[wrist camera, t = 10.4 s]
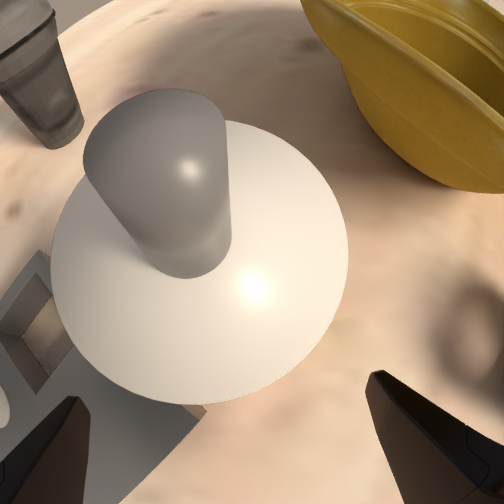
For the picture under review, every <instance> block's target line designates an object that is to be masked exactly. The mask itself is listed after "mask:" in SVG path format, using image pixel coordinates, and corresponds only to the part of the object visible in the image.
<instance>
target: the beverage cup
mask: <svg viewBox="0 0 504 504" xmlns="http://www.w3.org/2000/svg"><path fill="white" fill-rule="evenodd" d="M54 16H55V11H54V9H52V8H51V6H50V4H49V2H48V1H47V0H0V95H1V97H2V98H3V99H4V100H5V102H6V103H7V104H8V105H9V106H10V108H11V109H12V110H13V111H14V112H15V113H16V115H17V116H18V117H19V118H20V119H21V121H22V122H23V123H24V124H25V125H26V126H27V127H28V129H29V130H30V131H31V132H32V133H33V134H34V135H35V136H36V138H37V139H39V140H40V141H41V142H42V143H43V144H44V145H45V146H46V147H47V148H49V149H58V148H61V147H63V146H65V145H67V144H68V143H70V142H71V141H72V140H73V139H75V138H76V136H77V135H78V134H79V133H80V131H81V130H82V128H83V125H84V118H83V116H82V114H81V110H80V105H79V102H78V100H77V97H76V94H75V91H74V89H73V86H72V83H71V80H70V77H69V74H68V71H67V68H66V65H65V62H64V58H63V55H62V52H61V49H60V45H59V42H58V38H57V37H58V34H57V26H56V20H55V17H54Z"/></svg>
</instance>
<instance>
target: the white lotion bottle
mask: <svg viewBox="0 0 504 504" xmlns="http://www.w3.org/2000/svg"><path fill="white" fill-rule="evenodd" d="M83 165H84V170H85V173H86V174H85V175H84V177H83V178H82V179H81V180H80V182H79V183H78V184H77V186H76V187H75V189H74V190H73V192H72V194H71V195H70V197H69V199H68V200H67V202H66V204H65V207H64V209H63V211H62V213H61V215H60V218H59V221H58V224H57V227H56V231H55V234H54V239H53V245H52V250H51V266H50V271H51V284H52V291H53V295H54V300H55V305H56V308H57V310H58V313H59V316H60V319H61V321H62V324H63V326H64V327H65V329H66V331H67V333H68V335H69V337H70V339H71V340H72V342H73V343H74V344H75V346H76V347H77V349H78V350H79V351H80V353H81V354H82V355H83V356H84V357H85V358H86V359H87V360H88V361H89V362H90V363H91V364H92V365H93V366H94V367H95V368H96V369H97V370H98V371H99V372H100V373H102V374H103V375H104V376H106V377H107V378H108V379H110V380H111V381H113V382H114V383H116V384H118V385H119V386H121V387H123V388H125V389H127V390H129V391H131V392H133V393H135V394H138V395H141V396H144V397H147V398H150V399H153V400H157V401H162V402H168V403H174V404H191V405H201V404H210V403H218V402H224V401H228V400H232V399H235V398H239V397H242V396H246V395H248V394H250V393H253V392H255V391H257V390H259V389H261V388H264V387H266V386H268V385H270V384H271V383H273V382H274V381H276V380H277V379H279V378H281V377H282V376H284V375H285V374H287V373H288V372H289V371H290V370H292V369H293V368H294V367H295V366H296V365H297V364H298V363H300V362H301V361H302V360H303V359H304V358H305V357H306V356H307V355H308V354H309V353H310V351H311V350H312V349H313V348H314V347H315V345H316V344H317V343H318V342H319V341H320V339H321V338H322V336H323V335H324V333H325V331H326V330H327V328H328V327H329V325H330V323H331V322H332V320H333V317H334V315H335V313H336V311H337V308H338V306H339V304H340V301H341V298H342V294H343V290H344V287H345V283H346V277H347V268H348V240H347V234H346V228H345V223H344V219H343V216H342V213H341V210H340V207H339V204H338V202H337V200H336V198H335V196H334V194H333V192H332V190H331V188H330V187H329V185H328V183H327V182H326V180H325V179H324V177H323V176H322V174H321V173H320V172H319V171H318V170H317V169H316V167H315V166H314V165H313V164H312V163H311V162H310V161H309V160H308V159H307V158H306V157H305V156H304V155H303V154H302V153H300V152H299V151H298V150H297V149H296V148H294V147H293V146H291V145H290V144H288V143H287V142H285V141H284V140H282V139H280V138H279V137H277V136H275V135H273V134H271V133H269V132H267V131H264V130H262V129H259V128H257V127H254V126H251V125H247V124H243V123H240V122H235V121H228V120H225V119H224V116H223V114H222V112H221V111H220V109H219V108H218V107H217V106H216V104H215V103H213V102H212V101H211V100H210V99H208V98H206V97H205V96H203V95H201V94H198V93H196V92H192V91H188V90H183V89H161V90H155V91H150V92H146V93H143V94H140V95H137V96H135V97H132V98H130V99H128V100H126V101H124V102H123V103H121V104H119V105H118V106H116V107H115V108H113V109H112V110H111V111H110V112H108V113H107V114H106V115H105V116H104V117H103V118H102V119H101V120H100V121H99V122H98V124H97V125H96V126H95V127H94V129H93V131H92V132H91V134H90V136H89V138H88V140H87V142H86V145H85V148H84V154H83Z"/></svg>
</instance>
